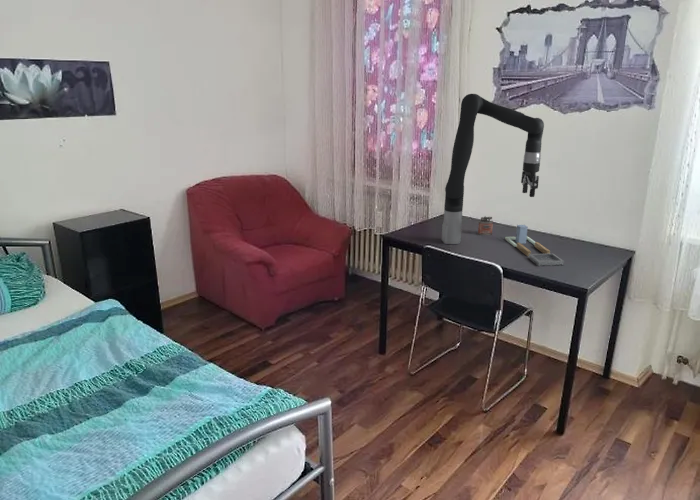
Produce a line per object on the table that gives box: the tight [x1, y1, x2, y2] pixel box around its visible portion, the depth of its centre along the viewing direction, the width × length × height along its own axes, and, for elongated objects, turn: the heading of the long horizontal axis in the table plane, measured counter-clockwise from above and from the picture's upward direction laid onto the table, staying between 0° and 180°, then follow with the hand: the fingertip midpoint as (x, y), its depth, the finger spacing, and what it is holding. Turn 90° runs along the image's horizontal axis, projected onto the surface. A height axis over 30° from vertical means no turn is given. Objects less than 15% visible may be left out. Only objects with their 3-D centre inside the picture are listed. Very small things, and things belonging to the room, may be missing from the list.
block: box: [515, 224, 529, 245], centre depth 269 cm, size 4×4×9 cm
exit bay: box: [504, 235, 536, 248], centre depth 270 cm, size 12×13×1 cm
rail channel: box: [516, 241, 551, 257], centre depth 256 cm, size 11×14×2 cm
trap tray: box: [528, 252, 565, 267], centre depth 242 cm, size 12×11×2 cm
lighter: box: [477, 215, 494, 236], centre depth 283 cm, size 8×3×10 cm, turn 92°
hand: (528, 194), depth 250 cm, fingers open, 8 cm apart
